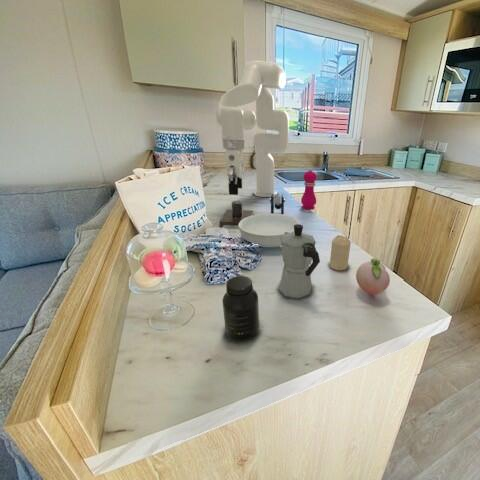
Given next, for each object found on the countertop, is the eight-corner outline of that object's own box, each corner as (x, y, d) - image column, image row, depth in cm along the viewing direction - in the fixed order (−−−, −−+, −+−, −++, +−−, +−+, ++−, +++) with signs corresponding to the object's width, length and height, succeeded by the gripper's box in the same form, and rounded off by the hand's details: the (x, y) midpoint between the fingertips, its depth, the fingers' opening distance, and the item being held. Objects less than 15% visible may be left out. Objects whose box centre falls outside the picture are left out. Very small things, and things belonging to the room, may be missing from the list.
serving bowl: (269, 225, 111) (269, 209, 108) (310, 240, 100) (312, 223, 97) (226, 241, 95) (225, 222, 92) (270, 261, 84) (270, 241, 82)
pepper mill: (313, 213, 128) (316, 170, 120) (298, 211, 129) (300, 168, 121) (317, 208, 135) (320, 167, 126) (302, 206, 136) (304, 165, 127)
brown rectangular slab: (227, 215, 118) (226, 209, 116) (253, 216, 119) (253, 210, 118) (220, 227, 105) (219, 221, 104) (249, 228, 106) (249, 222, 105)
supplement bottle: (229, 318, 60) (225, 272, 55) (260, 318, 61) (260, 272, 56) (221, 342, 54) (216, 292, 49) (257, 342, 55) (255, 292, 50)
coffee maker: (269, 281, 74) (269, 219, 67) (296, 273, 79) (299, 214, 72) (298, 312, 64) (302, 243, 56) (328, 300, 69) (335, 235, 61)
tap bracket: (267, 218, 118) (267, 191, 113) (288, 218, 119) (289, 192, 114) (265, 228, 107) (264, 199, 102) (288, 229, 108) (289, 200, 103)
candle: (349, 264, 87) (353, 235, 82) (344, 272, 82) (348, 242, 78) (332, 260, 88) (335, 231, 84) (327, 268, 83) (330, 238, 79)
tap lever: (274, 209, 120) (274, 202, 120) (281, 210, 120) (282, 203, 121) (273, 203, 107) (273, 195, 107) (281, 203, 108) (281, 195, 108)
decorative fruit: (351, 282, 77) (355, 251, 73) (379, 283, 78) (385, 252, 74) (357, 303, 69) (362, 269, 64) (389, 304, 69) (396, 270, 65)
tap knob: (233, 213, 112) (232, 200, 110) (243, 214, 113) (242, 200, 111) (231, 217, 109) (230, 203, 106) (241, 217, 109) (241, 203, 107)
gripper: (240, 148, 92) (242, 197, 99) (247, 143, 108) (248, 186, 115) (217, 146, 91) (221, 196, 98) (227, 142, 107) (230, 185, 114)
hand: (235, 191), depth 106 cm, fingers open, 9 cm apart
